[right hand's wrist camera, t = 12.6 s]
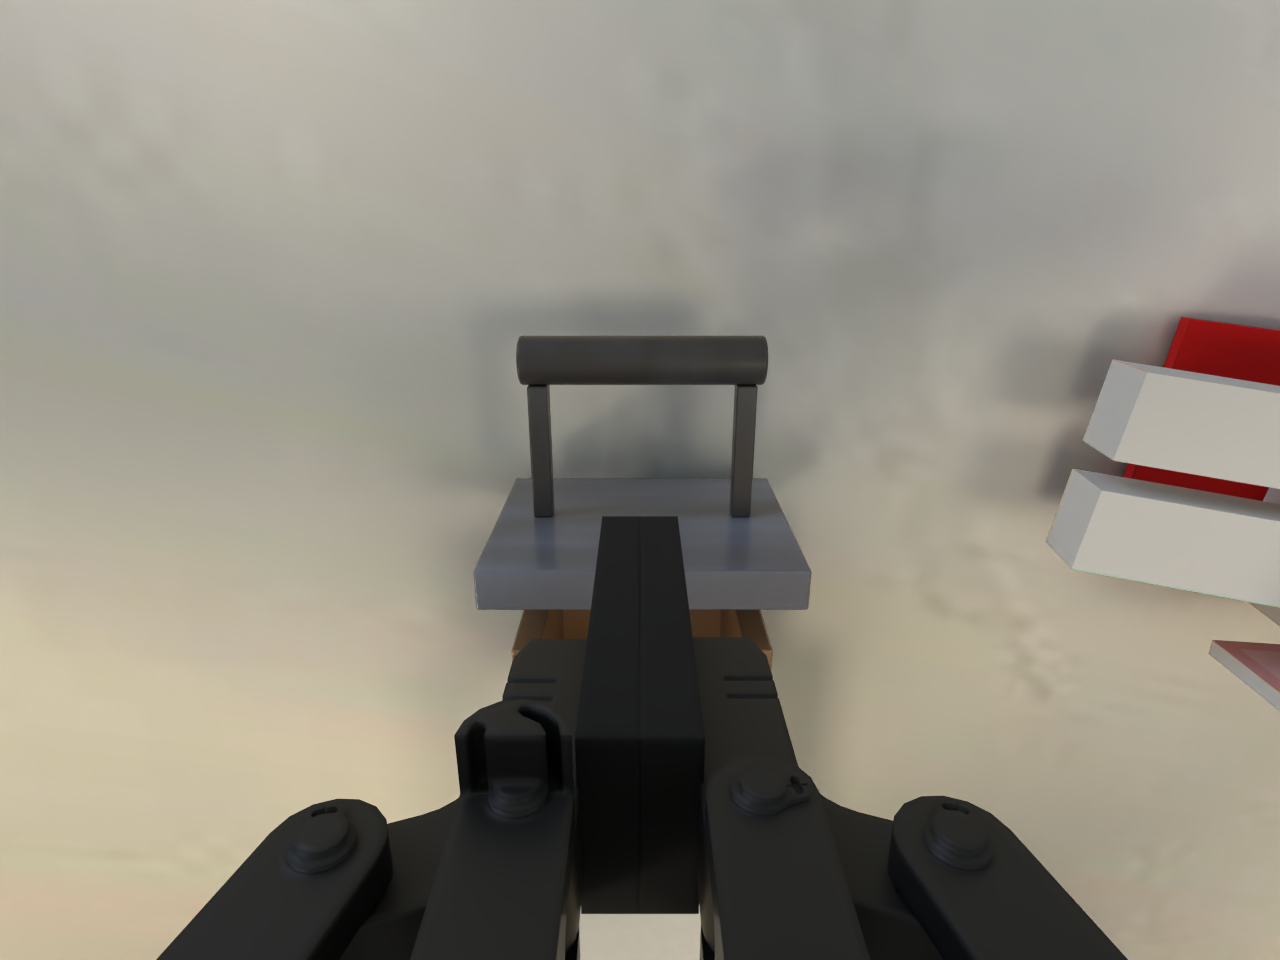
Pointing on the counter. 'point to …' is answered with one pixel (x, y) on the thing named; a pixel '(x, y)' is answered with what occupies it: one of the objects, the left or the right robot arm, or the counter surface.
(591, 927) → the cabinet
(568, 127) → the counter surface
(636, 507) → the drawer
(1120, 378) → the toy
